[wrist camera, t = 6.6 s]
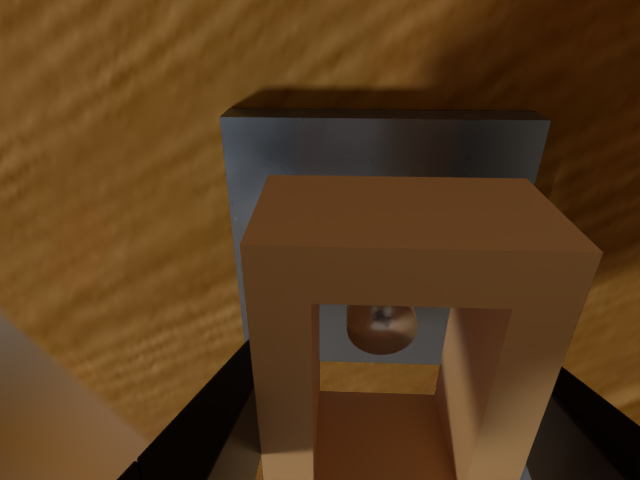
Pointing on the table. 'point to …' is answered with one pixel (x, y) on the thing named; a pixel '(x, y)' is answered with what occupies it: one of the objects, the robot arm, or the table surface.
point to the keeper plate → (373, 160)
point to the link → (414, 291)
